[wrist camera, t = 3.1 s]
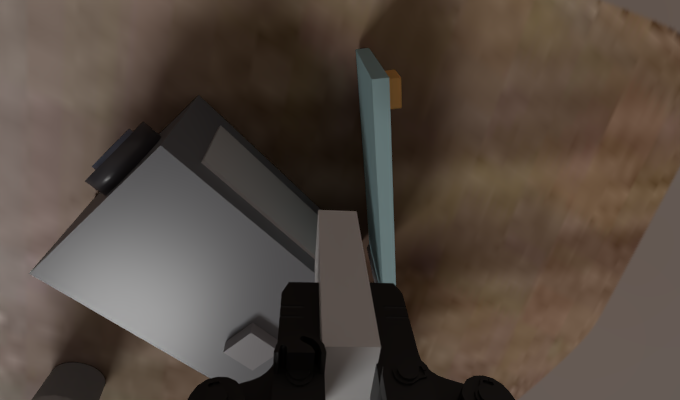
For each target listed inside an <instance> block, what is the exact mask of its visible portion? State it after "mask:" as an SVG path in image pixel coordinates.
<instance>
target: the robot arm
mask: <svg viewBox="0 0 680 400" xmlns="http://www.w3.org/2000/svg"><path fill="white" fill-rule="evenodd" d="M188 400H515V399H514V397H513V396H512V395H511V393H510V392H509V391H508V390H507V389H506V388H505V387H504V386H503V385H502V384H501V383H499V382H498V381H496V380H495V379H493V378H490V377H486V376H473V377H471V378H469V379H467V380H466V381H465V383H464V384H462V383H459V382H455V381H452V380H449V379H445V378H443V377H440V376H438V375H436V374H435V373H433V372H431V371H430V370H429V369H428V367H427V365H426V364H425V363H424V362H422V361H421V359H420V356H419V354H418V350H417V346H416V343H415V339H414V335H413V332H412V328H411V324H410V320H409V319H408V313H407V309H406V306H405V302H404V298H403V295H402V293H401V292H400V291H399V289H398V288H397V287H396V286H395V284H394V283H369V278H368V272H367V267H366V261H365V255H364V250H363V244H362V239H361V233H360V228H359V222H358V217H357V211H336V210H318V222H317V237H316V252H315V282H288V284H287V285H286V287H285V288H284V290H283V291H282V294H281V307H280V318H279V329H278V341H277V344H276V346H275V349H274V359H273V365H272V367H271V368H270V369H269V370H268V371H267V372H266V373H265V374H263V375H262V376H260V377H258V378H255V379H253V380H250V381H247V382H243V383H240V384H239V383H238V382H237V381H236V380H233V379H231V378H229V377H214V378H211V379H207V380H205V381H204V382H202V383H201V384H199V385H198V386H197V387H196V388H195V389H194V391H193V392H192V393H191V394H190V396H189V398H188Z"/></svg>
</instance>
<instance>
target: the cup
mask: <svg viewBox="0 0 680 400" xmlns="http://www.w3.org/2000/svg"><path fill="white" fill-rule="evenodd" d="M104 386H105V378H104V376H103V375H102V373H101V372H100V371H98V370H97V369H96V368H94V367H92V366H89V365H86V364H82V363H64V364H61V365H58V366H57V367H55V368H54V369H53V370H52V372H51V373H50V375H49V376H48V377H47V379H46V380H45V382H44V383H43V384H42V386H41V387H40V389H39V390H38V392H37V393H36V394H35V396H34V397H33V399H32V400H99V399H100V396H101V394H102V391H103V388H104Z"/></svg>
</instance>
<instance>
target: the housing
mask: <svg viewBox="0 0 680 400" xmlns="http://www.w3.org/2000/svg"><path fill="white" fill-rule="evenodd" d="M92 167H93V168H94V169H95V171H94V172H93V173H92V174H91V175H90V176H89V177H88V178H87V179H86V180H85V182H87V183H88V184H89V185H91V186H92V187H94V188H95V189H96V190H98V191H99V192H100V193H99V194H98V195H97V196H96V197H95V198H94V199H93V200H92V201H91V202H90V204H89V205H88V206H87V207H86V208H85V209H84V211H83V212H82V213H81V214H80V215H79V216H78V218H77V219H76V220H75V221H74V222H73V223H72V224H71V226H70V227H69V228H68V229H67V230H66V231H65V233H64V234H63V235H62V236H61V237H60V238H59V239H58V241H57V242H56V243H55V244H54V245H53V246H52V248H51V249H50V250H49V251H48V252H47V253H46V255H45V256H44V257H43V258H42V259H41V260H40V261H39V263H38V264H37V265H36V266H35V267H34V268H33V270H32V271H31V272H30V273H29V274H31V275H32V276H34V277H36V278H37V279H39V280H41V281H43V282H44V283H46V284H48V285H50V286H51V287H53V288H55V289H56V290H58V291H60V292H62V293H63V294H65V295H67V296H69V297H70V298H72V299H74V300H75V301H77V302H79V303H81V304H82V305H84V306H86V307H88V308H89V309H91V310H93V311H95V312H96V313H98V314H100V315H101V316H103V317H105V318H107V319H108V320H110V321H112V322H114V323H115V324H117V325H119V326H120V327H122V328H124V329H126V330H127V331H129V332H131V333H133V334H134V335H136V336H138V337H139V338H141V339H143V340H145V341H146V342H148V343H150V344H152V345H153V346H155V347H157V348H159V349H160V350H162V351H164V352H165V353H167V354H169V355H171V356H172V357H174V358H176V359H178V360H179V361H181V362H183V363H184V364H186V365H188V366H190V367H191V368H193V369H195V370H197V371H198V372H200V373H202V374H203V375H205V376H207V377H209V378H210V379H211V378H214V377H229V378H231V379H233V380H236V381H237V382H238V383H239V384H240V383H243V382H247V381H250V380H253V379H255V378H258V377H260V376H262V375H263V374H265V373H266V372H267V371H268V370H269V369H270V368H271V367H272V365H273V359H274V349H275V346H276V344H277V341H278V329H279V318H280V307H281V294H282V291H283V290H284V288H285V287H286V285H287V284H288V282H315V252H316V237H317V222H318V210H321V209H320V208H319V207H318V206H317V205H315V204H314V203H313V202H312V201H311V200H310V199H309V198H308V197H307V196H306V195H305V194H304V193H303V192H302V191H301V190H299V189H298V188H297V187H296V186H295V185H294V184H293V183H292V182H291V181H290V180H289V179H288V178H287V177H286V176H285V175H283V174H282V173H281V172H280V171H279V170H278V169H277V168H276V167H275V166H274V165H273V164H272V163H271V162H270V161H269V160H267V159H266V158H265V157H264V156H263V155H262V154H261V153H260V152H259V151H258V150H257V149H256V148H255V147H254V146H253V145H251V144H250V143H249V142H248V141H247V140H246V139H245V138H244V137H243V136H242V135H241V134H240V133H239V132H238V131H237V130H235V129H234V128H233V127H232V126H231V125H230V124H229V123H228V122H227V121H226V120H225V119H224V118H223V117H222V116H221V115H219V114H218V113H217V112H216V111H215V110H214V109H213V108H212V107H211V106H210V105H209V104H208V103H207V102H206V101H205V100H203V99H202V98H201V97H200V96H199V95H198V96H197V97H196V98H195V99H194V100H193V101H192V102H191V103H190V104H189V105H188V106H187V107H186V108H185V109H184V110H183V111H182V112H181V113H180V114H179V115H178V116H177V117H176V118H175V119H174V120H173V121H172V122H171V123H170V124H169V125H168V126H167V127H166V128H165V129H164V130H163V131H162V132H161V133H160V134H158V133H156V132H155V131H154V130H153V129H152V128H150V127H149V126H148V125H147V124H146V123H145V122H142V123H141V124H140V125H139V126H138V127H137V128H136V129H135V130H134V131H133V132H132V131H131V130H130V129H128V130H127V131H126V132H125V133H124V134H123V135H122V136H121V137H120V138H119V139H118V140H117V141H116V142H115V143H114V144H113V145H112V146H111V147H110V148H109V149H108V150H107V152H106V153H105V154H104V155H103V156H102V157H101V158H100V159H99V160H98V161H97V162H96V163H95V164H94V165H93V166H92Z"/></svg>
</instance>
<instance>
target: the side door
mask: <svg viewBox="0 0 680 400" xmlns="http://www.w3.org/2000/svg"><path fill="white" fill-rule="evenodd" d="M356 61H357V75H358V89H359V104H360V118H361V132H362V146H363V160H364V174H365V189H366V203H367V217H368V231H369V245H368V247H367V250H368V255H369V260H370V265H371V269H372V274H373V279H374V283H394V284H395V286H396V271H395V240H394V209H393V177H392V146H391V115H390V109H397V108H402V90H401V77H400V75H399V74H398V73H397V72H396V70H395V69H393V70H385V71H384V69H383V68H382V66H381V65H380V63H379V62H378V60H377V59H376V57H375V56H374V55H373V53H372V52H371V50H370V49H369V48H364V49H356Z"/></svg>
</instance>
